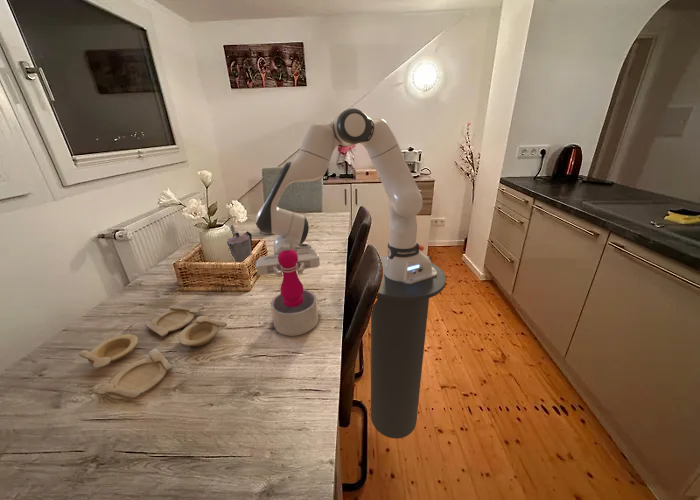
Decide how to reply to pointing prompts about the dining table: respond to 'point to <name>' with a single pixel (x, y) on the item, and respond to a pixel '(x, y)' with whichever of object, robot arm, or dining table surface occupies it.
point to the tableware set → (154, 368)
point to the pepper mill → (290, 278)
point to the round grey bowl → (295, 315)
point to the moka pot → (240, 246)
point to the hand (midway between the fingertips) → (290, 273)
